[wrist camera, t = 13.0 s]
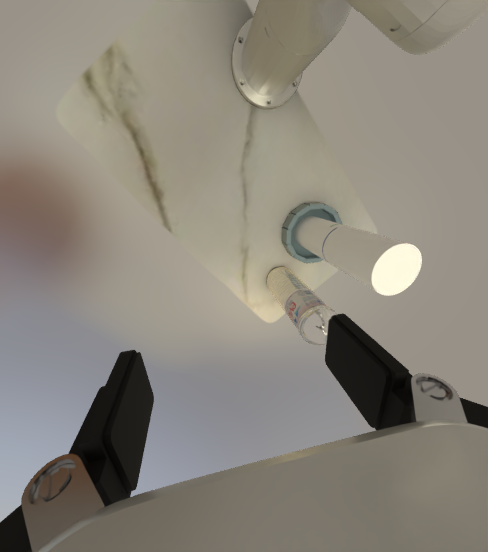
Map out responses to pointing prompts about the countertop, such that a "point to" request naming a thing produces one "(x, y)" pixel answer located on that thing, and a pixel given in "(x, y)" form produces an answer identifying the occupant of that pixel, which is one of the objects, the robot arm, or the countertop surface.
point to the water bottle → (301, 305)
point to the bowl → (294, 218)
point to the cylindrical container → (361, 254)
